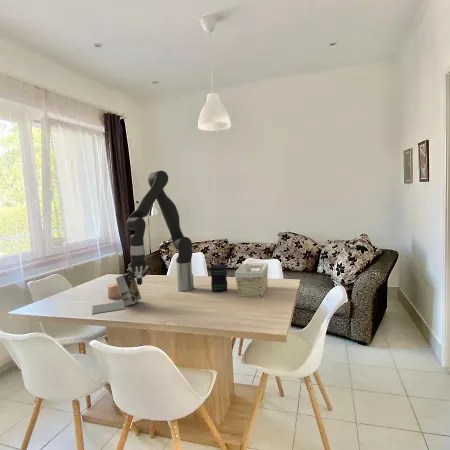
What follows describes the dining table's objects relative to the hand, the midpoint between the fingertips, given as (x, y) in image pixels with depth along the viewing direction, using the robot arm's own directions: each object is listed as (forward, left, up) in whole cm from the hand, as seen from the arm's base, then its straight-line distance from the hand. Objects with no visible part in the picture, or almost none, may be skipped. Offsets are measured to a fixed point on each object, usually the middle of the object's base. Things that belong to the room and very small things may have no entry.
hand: (139, 284), depth 180 cm
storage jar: (-47, -1, -11) cm, 48 cm away
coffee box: (+4, 0, -10) cm, 10 cm away
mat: (+17, 0, -10) cm, 20 cm away
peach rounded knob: (+13, -20, -10) cm, 26 cm away
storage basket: (-63, +12, -11) cm, 65 cm away
